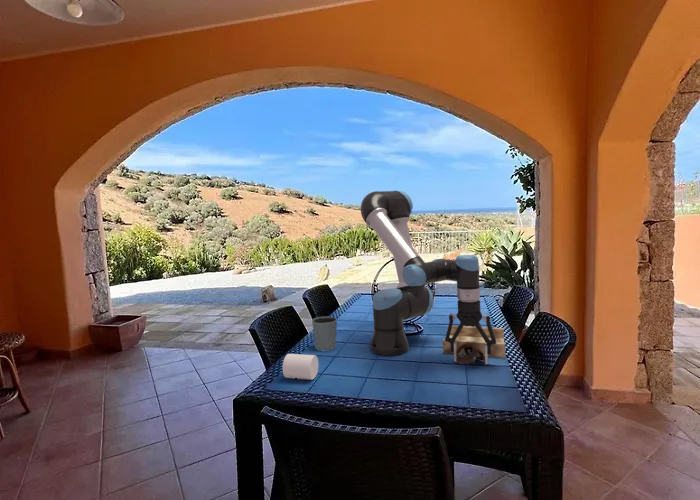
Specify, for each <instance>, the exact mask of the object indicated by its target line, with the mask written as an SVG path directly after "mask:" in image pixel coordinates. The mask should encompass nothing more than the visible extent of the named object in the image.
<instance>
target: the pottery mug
mask: <svg viewBox="0 0 700 500" xmlns="http://www.w3.org/2000/svg"><path fill="white" fill-rule="evenodd" d="M463 348H464V350H465V352H466V354H467V355H463V356H462V355H460V354H459V352H460V351H461V350H462V349H463ZM456 353H457V355H456V361H457V362H456V363H457V364H458V365H459V364H462V365H465V364H470V363H476V362H475V361H482V362H483V364H484V366H487V364H485V356H484V355H483V353H482V351H481V350H480V349H479V348H478V347H476V346H474V345H473V344H472V343H470V342H467V343H465V344H463V345H461V346H459V347H458V348H457V350H456Z"/></svg>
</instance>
